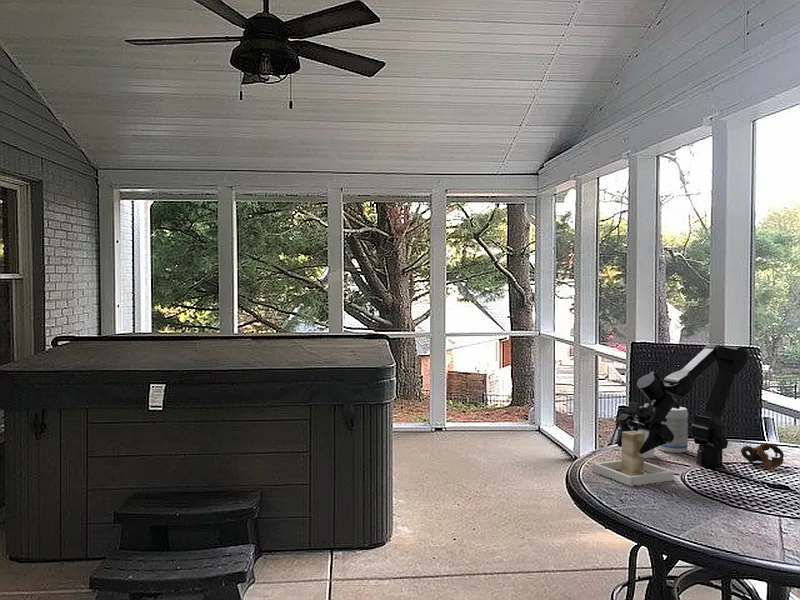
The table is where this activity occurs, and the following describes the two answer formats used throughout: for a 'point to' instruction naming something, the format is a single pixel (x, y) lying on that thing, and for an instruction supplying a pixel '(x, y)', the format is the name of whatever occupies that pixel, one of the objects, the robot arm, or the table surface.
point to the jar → (649, 453)
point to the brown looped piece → (763, 455)
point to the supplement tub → (677, 430)
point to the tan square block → (632, 453)
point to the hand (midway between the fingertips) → (629, 449)
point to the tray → (655, 475)
